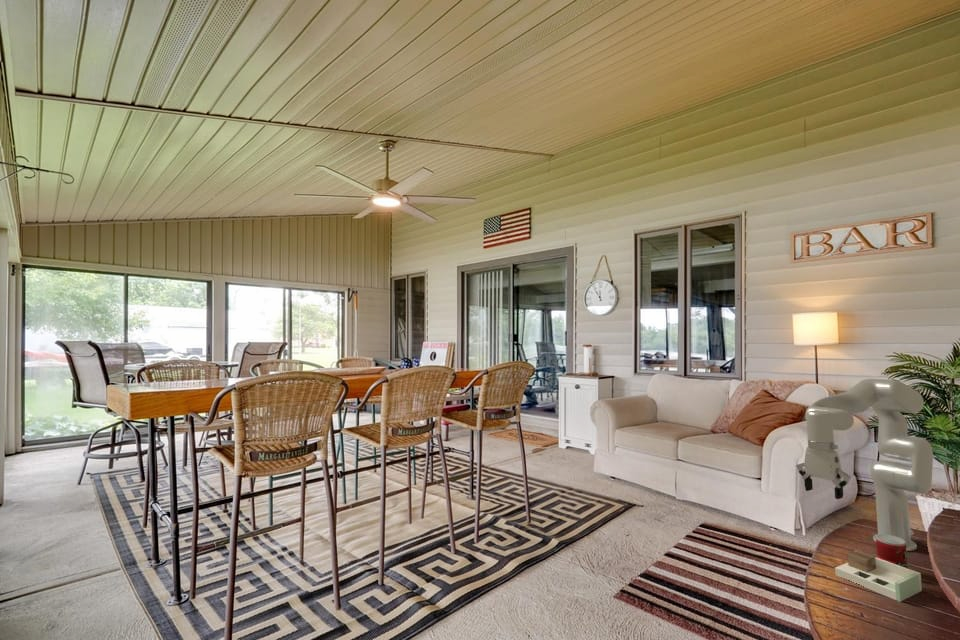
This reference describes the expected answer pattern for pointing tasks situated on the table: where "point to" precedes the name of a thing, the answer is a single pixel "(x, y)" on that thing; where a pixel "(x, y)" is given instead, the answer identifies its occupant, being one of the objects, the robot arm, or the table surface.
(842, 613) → the table surface
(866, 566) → the block
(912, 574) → the trap box
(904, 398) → the robot arm
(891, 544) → the canned food
